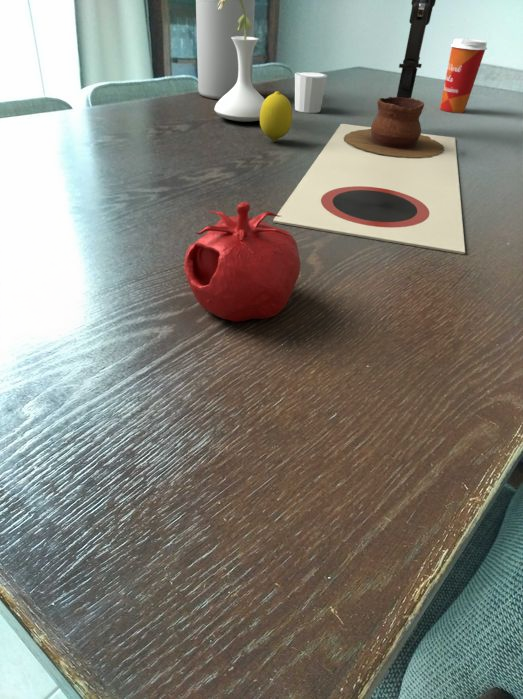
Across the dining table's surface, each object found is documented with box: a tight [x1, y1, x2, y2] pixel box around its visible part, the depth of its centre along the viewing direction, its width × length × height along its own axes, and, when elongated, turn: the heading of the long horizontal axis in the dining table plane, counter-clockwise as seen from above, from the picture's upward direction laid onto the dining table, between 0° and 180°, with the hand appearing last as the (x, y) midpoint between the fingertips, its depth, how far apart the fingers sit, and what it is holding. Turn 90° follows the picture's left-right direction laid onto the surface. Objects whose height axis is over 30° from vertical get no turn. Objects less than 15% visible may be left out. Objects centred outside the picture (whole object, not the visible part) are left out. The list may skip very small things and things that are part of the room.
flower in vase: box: [214, 0, 266, 123], centre depth 90 cm, size 13×11×25 cm
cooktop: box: [272, 123, 466, 255], centre depth 76 cm, size 22×52×1 cm, turn 164°
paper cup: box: [439, 38, 488, 114], centre depth 112 cm, size 8×8×14 cm
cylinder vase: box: [195, 0, 256, 101], centre depth 108 cm, size 12×12×25 cm
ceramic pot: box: [344, 96, 444, 158], centre depth 87 cm, size 18×18×7 cm
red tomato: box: [183, 201, 301, 323], centre depth 42 cm, size 10×10×9 cm
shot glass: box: [294, 71, 328, 114], centre depth 106 cm, size 7×7×7 cm
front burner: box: [321, 186, 430, 228], centre depth 64 cm, size 14×14×1 cm
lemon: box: [259, 90, 293, 143], centre depth 84 cm, size 6×6×8 cm
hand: (402, 106), depth 95 cm, fingers closed
